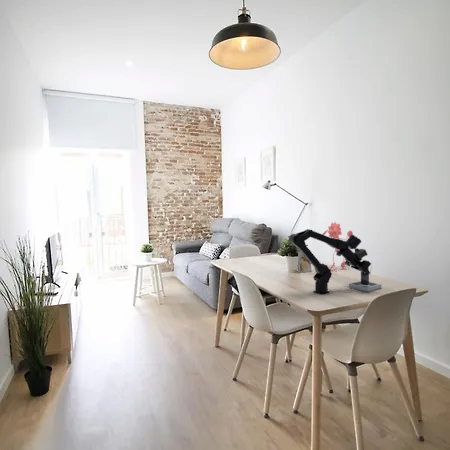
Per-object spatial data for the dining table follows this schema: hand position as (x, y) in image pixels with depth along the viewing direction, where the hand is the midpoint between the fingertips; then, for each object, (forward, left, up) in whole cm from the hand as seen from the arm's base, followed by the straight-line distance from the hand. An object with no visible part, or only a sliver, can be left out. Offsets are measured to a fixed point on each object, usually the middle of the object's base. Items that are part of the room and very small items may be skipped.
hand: (367, 272), depth 192 cm
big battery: (-1, +1, -7) cm, 7 cm away
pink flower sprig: (+26, +46, -9) cm, 53 cm away
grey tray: (-1, +1, -9) cm, 9 cm away
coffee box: (+4, +56, -9) cm, 56 cm away
